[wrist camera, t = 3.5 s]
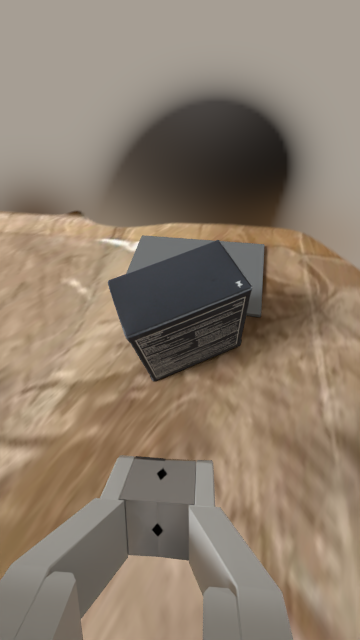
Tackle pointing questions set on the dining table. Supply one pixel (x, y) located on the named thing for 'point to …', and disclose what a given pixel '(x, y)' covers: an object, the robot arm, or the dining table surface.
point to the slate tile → (165, 247)
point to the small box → (183, 308)
